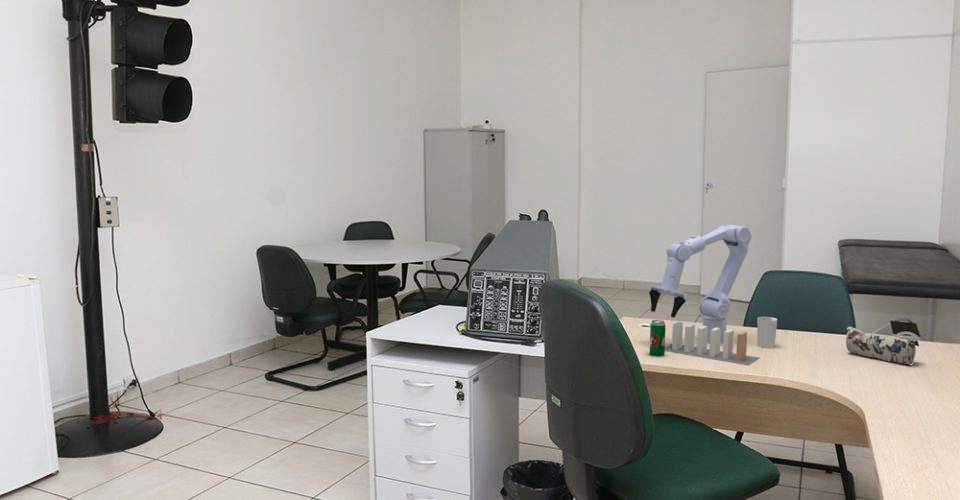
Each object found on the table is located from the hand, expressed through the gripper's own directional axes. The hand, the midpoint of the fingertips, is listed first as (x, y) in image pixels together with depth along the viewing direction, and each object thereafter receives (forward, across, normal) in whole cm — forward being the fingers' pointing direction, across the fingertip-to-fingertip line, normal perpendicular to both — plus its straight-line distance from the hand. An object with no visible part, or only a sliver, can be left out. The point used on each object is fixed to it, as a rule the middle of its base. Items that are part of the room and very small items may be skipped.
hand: (662, 314), depth 258 cm
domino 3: (+9, +16, +4) cm, 18 cm away
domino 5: (+8, +24, +3) cm, 26 cm away
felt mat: (+9, +18, +4) cm, 21 cm away
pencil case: (-4, +64, +34) cm, 73 cm away
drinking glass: (+2, +29, +28) cm, 40 cm away
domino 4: (+9, +20, +4) cm, 22 cm away
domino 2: (+10, +11, +4) cm, 15 cm away
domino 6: (+7, +29, +3) cm, 30 cm away
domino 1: (+10, +7, +4) cm, 13 cm away
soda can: (+14, +5, -8) cm, 17 cm away
